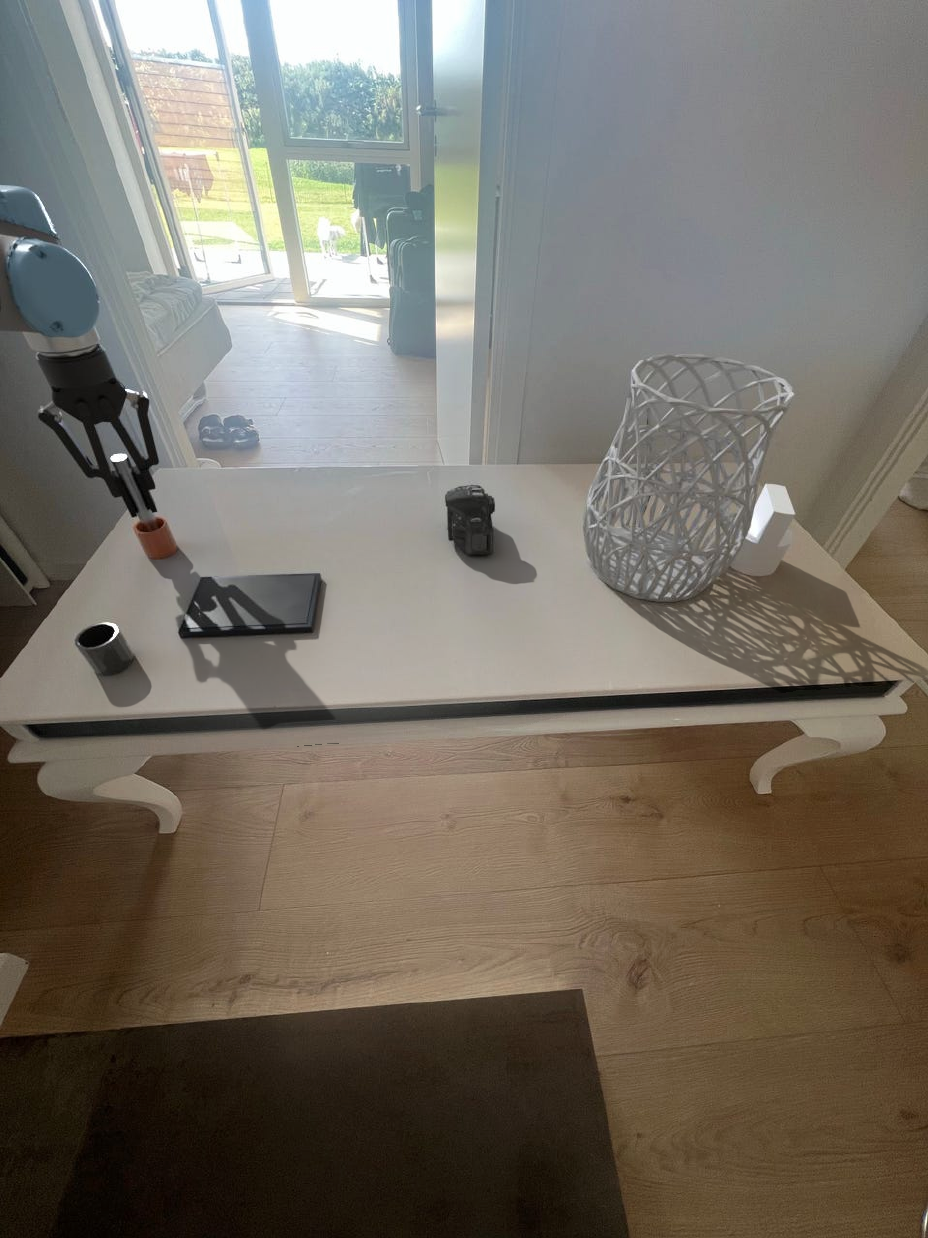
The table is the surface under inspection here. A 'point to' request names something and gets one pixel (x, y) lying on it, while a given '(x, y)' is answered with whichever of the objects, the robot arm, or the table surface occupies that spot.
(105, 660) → the pen stand
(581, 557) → the table surface
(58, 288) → the robot arm
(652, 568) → the vase
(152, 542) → the pen cup
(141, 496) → the silver metal rod
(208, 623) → the tablet
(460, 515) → the camera
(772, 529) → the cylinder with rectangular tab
